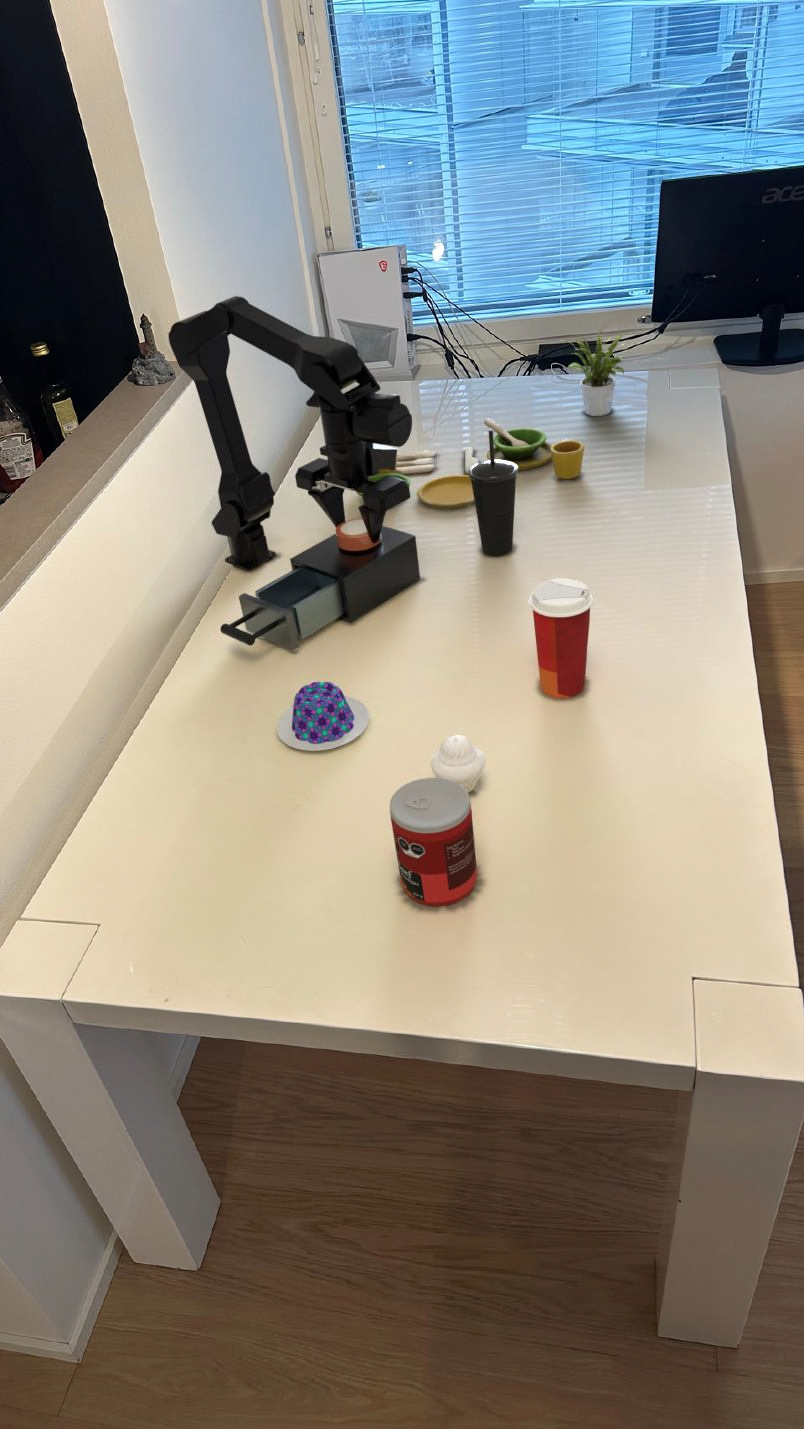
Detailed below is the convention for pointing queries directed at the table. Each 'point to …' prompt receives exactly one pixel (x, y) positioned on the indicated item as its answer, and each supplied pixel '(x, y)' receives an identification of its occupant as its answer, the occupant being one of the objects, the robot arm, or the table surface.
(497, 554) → the drinking cup
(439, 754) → the muffin
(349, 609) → the cabinet
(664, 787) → the table surface
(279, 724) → the pudding
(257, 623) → the drawer
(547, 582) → the paper cup
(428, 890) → the canned food
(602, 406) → the house plant
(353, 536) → the round tin
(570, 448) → the tableware set
